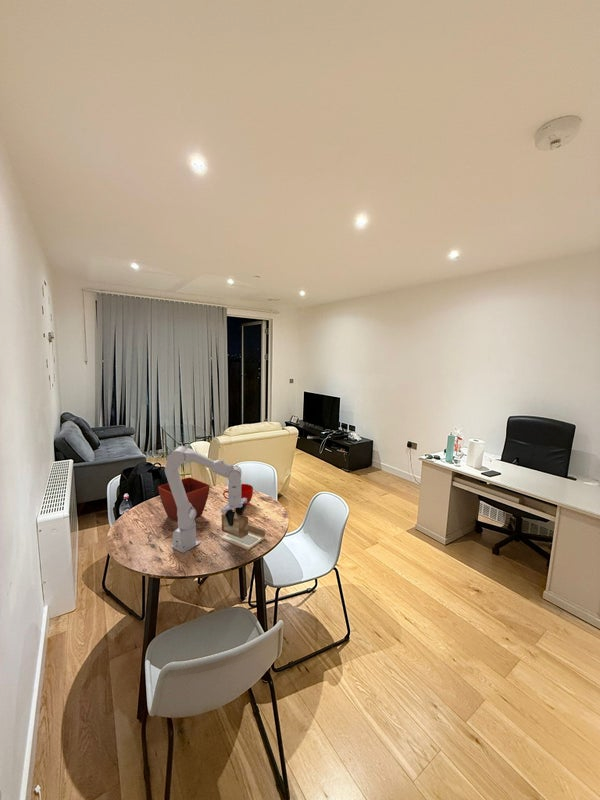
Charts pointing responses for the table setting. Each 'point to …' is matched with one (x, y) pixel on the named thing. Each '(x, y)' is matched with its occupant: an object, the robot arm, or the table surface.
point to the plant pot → (195, 495)
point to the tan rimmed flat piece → (247, 537)
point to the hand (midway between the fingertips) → (234, 523)
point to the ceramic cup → (245, 492)
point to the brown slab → (236, 526)
